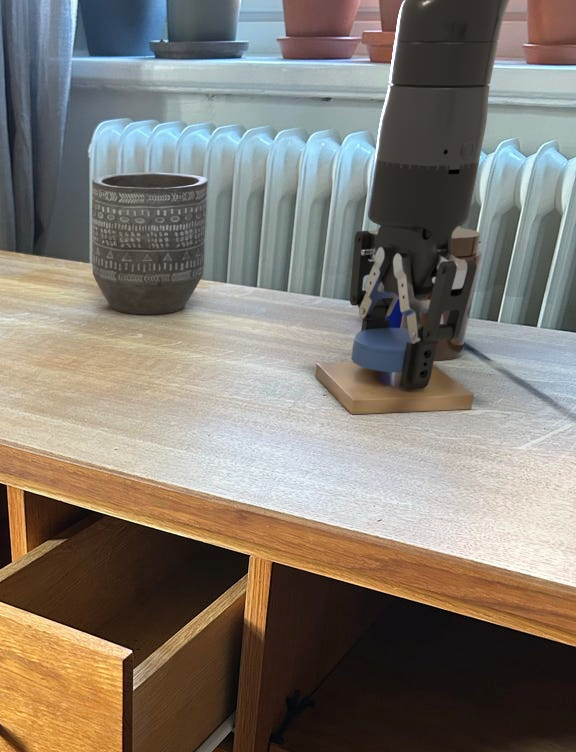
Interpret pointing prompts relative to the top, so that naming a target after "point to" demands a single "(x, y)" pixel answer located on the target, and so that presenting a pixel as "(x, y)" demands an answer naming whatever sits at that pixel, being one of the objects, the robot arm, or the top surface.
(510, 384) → the top surface
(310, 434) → the top surface
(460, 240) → the jar
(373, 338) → the jar lid
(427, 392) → the plate
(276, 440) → the top surface
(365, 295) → the robot arm
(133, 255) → the planter
